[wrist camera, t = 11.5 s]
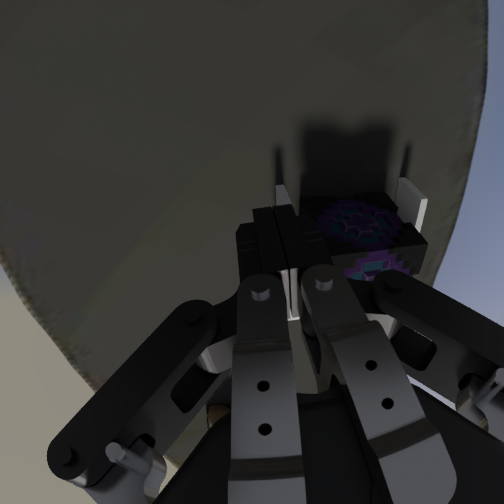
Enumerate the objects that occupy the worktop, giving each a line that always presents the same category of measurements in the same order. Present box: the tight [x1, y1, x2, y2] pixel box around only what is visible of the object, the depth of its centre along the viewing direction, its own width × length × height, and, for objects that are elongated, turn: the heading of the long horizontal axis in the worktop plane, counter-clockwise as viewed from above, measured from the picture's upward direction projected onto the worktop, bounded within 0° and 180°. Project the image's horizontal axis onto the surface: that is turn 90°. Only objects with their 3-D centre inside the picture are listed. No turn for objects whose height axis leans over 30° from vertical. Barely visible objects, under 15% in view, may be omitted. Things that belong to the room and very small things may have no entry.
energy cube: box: [299, 192, 428, 281], centre depth 39 cm, size 12×12×12 cm
